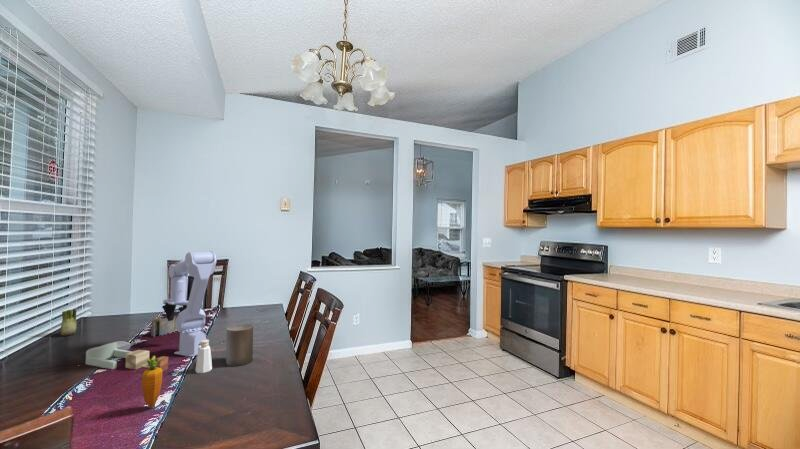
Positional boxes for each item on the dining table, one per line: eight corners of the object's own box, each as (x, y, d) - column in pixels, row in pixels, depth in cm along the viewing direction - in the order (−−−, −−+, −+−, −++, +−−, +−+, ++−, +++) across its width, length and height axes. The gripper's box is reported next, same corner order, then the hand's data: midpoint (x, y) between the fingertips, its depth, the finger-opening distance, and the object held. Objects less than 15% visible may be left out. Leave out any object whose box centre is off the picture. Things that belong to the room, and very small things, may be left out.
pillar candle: (258, 359, 135) (259, 321, 136) (237, 368, 126) (238, 328, 127) (241, 355, 139) (241, 318, 140) (219, 363, 131) (220, 324, 131)
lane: (140, 359, 133) (141, 346, 133) (113, 369, 123) (113, 355, 123) (114, 354, 136) (114, 342, 136) (85, 364, 127) (86, 350, 127)
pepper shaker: (215, 368, 126) (216, 339, 126) (202, 374, 121) (203, 343, 121) (204, 366, 127) (205, 337, 128) (191, 372, 122) (192, 341, 122)
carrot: (148, 403, 100) (149, 353, 100) (165, 403, 101) (167, 353, 101) (136, 412, 95) (138, 359, 96) (154, 412, 96) (156, 359, 96)
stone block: (83, 361, 134) (102, 359, 131) (82, 349, 134) (101, 347, 132) (115, 352, 145) (133, 350, 143) (114, 341, 146) (132, 338, 143)
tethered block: (170, 368, 125) (170, 354, 125) (157, 373, 120) (157, 359, 120) (139, 362, 129) (139, 349, 130) (125, 367, 125) (126, 354, 125)
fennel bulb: (75, 332, 162) (76, 307, 162) (78, 334, 159) (79, 309, 159) (58, 335, 157) (59, 309, 158) (60, 337, 155) (61, 311, 155)
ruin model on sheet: (154, 338, 158) (155, 317, 158) (151, 337, 160) (151, 316, 160) (180, 332, 168) (180, 312, 168) (176, 331, 169) (177, 311, 170)
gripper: (157, 291, 149) (156, 322, 149) (182, 293, 145) (181, 325, 145) (171, 288, 156) (171, 318, 156) (196, 291, 152) (195, 321, 152)
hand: (177, 321), depth 151 cm, fingers open, 7 cm apart
